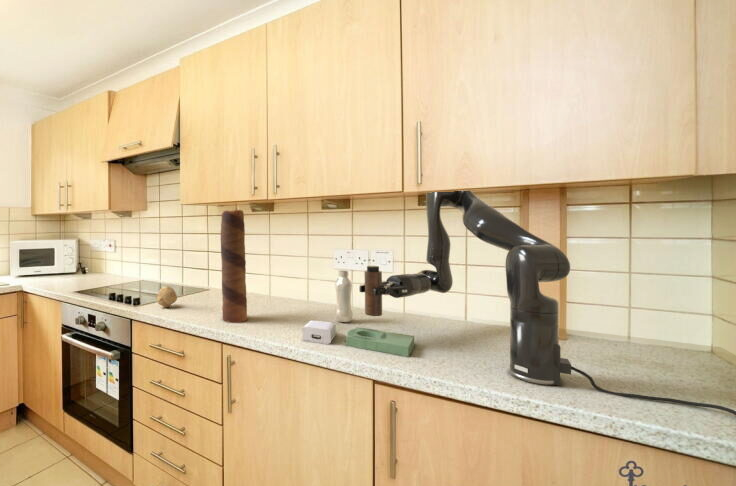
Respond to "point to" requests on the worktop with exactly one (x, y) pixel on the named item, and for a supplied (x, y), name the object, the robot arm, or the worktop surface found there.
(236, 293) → the wafer roll
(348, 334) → the board
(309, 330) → the charger
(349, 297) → the plastic bottle
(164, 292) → the natural sponge
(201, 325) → the worktop surface
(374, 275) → the pepper mill
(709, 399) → the worktop surface
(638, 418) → the worktop surface
